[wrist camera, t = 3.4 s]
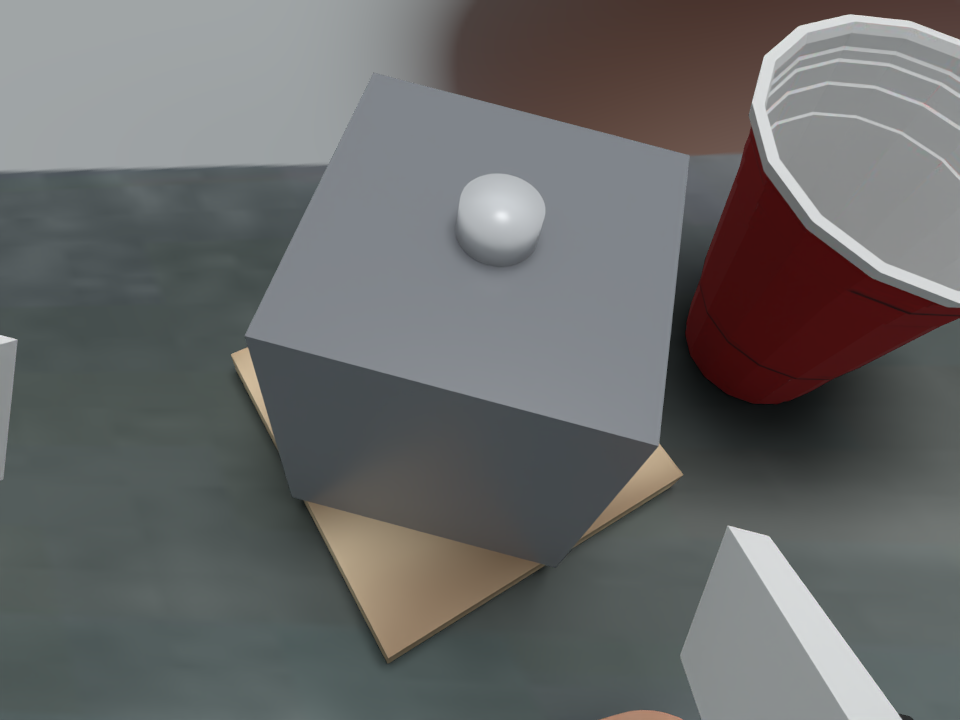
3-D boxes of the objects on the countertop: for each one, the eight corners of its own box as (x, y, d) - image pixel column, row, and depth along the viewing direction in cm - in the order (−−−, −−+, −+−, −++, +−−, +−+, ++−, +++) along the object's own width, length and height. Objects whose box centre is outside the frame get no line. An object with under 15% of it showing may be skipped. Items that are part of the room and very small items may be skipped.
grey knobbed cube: (594, 345, 28) (704, 127, 19) (555, 567, 23) (676, 425, 14) (373, 286, 28) (373, 40, 19) (291, 496, 24) (236, 309, 14)
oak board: (671, 486, 27) (683, 474, 26) (387, 663, 22) (388, 658, 21) (500, 258, 31) (504, 241, 30) (236, 370, 27) (231, 354, 26)
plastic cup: (684, 493, 27) (876, 315, 16) (594, 265, 32) (698, 21, 22) (922, 443, 29) (1218, 261, 19) (803, 239, 34) (986, 8, 24)
